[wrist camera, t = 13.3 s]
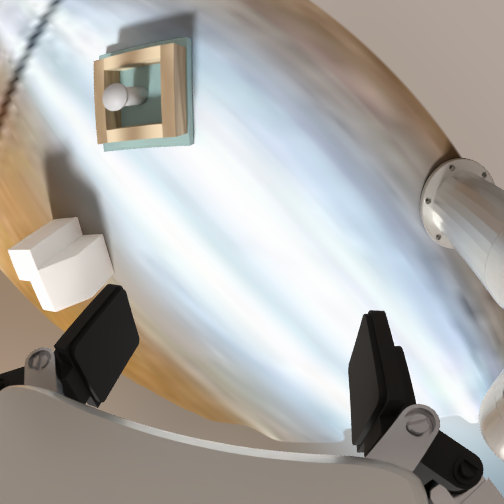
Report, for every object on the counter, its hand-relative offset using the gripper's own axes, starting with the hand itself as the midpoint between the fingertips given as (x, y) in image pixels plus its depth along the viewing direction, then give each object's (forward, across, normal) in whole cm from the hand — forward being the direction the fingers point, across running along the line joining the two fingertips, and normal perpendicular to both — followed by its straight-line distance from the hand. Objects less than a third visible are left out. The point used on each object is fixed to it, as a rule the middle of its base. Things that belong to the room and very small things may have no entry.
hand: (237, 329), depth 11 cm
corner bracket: (+29, +34, +13) cm, 46 cm away
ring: (+27, +17, -10) cm, 33 cm away
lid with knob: (+28, +18, -10) cm, 35 cm away
